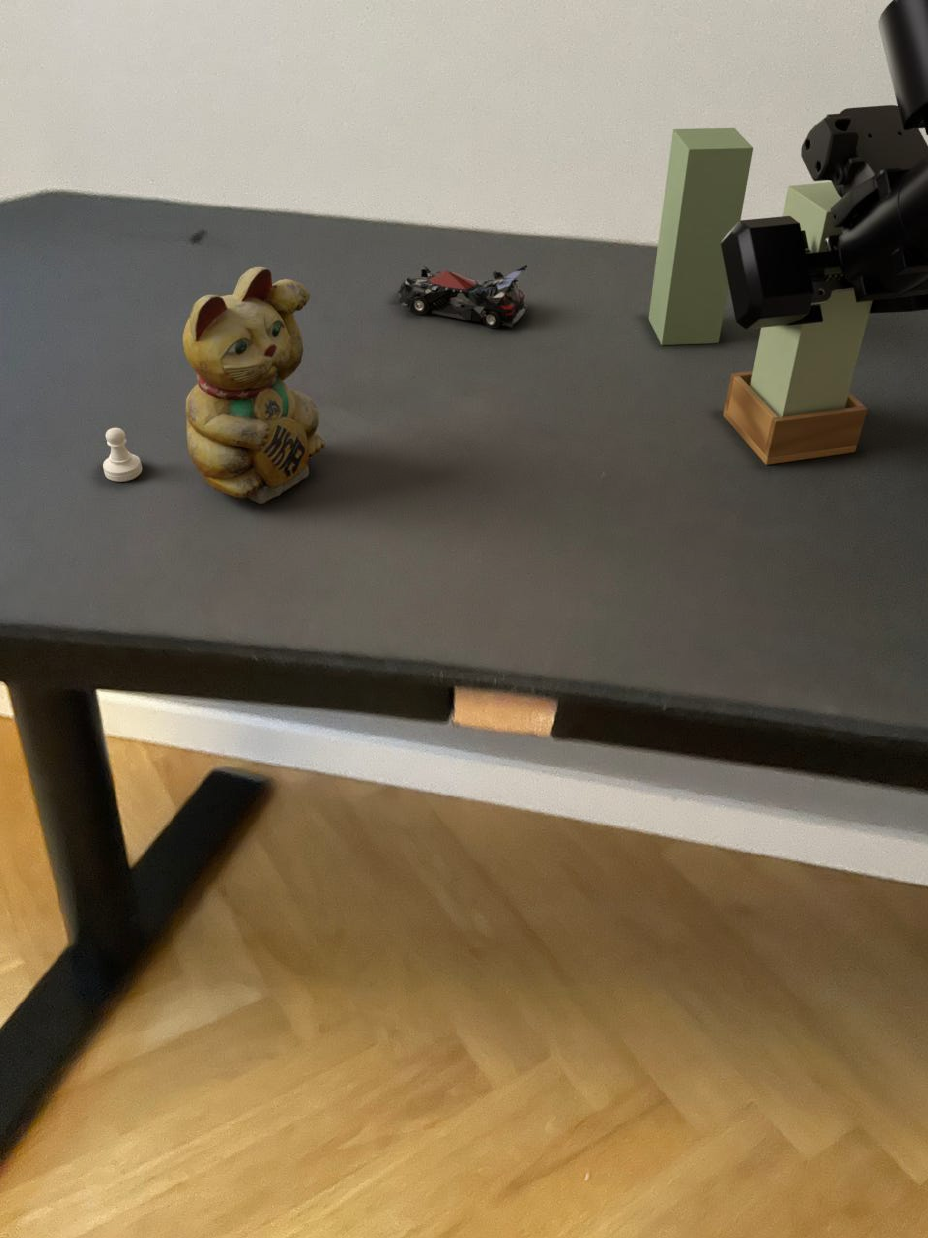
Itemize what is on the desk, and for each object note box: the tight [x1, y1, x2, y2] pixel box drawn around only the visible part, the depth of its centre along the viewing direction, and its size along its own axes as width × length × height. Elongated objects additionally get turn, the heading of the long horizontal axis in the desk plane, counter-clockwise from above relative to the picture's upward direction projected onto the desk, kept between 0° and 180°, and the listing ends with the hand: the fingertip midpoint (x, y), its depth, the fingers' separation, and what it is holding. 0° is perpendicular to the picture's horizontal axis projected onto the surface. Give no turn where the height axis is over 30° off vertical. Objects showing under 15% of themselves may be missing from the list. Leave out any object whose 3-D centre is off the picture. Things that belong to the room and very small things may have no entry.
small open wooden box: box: [722, 370, 868, 466], centre depth 79 cm, size 7×7×4 cm
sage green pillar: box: [750, 181, 872, 418], centre depth 74 cm, size 5×5×16 cm
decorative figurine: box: [181, 266, 326, 505], centre depth 70 cm, size 10×8×15 cm
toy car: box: [396, 264, 529, 329], centre depth 94 cm, size 6×12×4 cm, turn 68°
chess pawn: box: [102, 427, 143, 483], centre depth 74 cm, size 3×3×4 cm
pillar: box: [648, 127, 754, 346], centre depth 88 cm, size 5×5×16 cm
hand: (805, 311), depth 75 cm, fingers closed on sage green pillar, 5 cm apart
